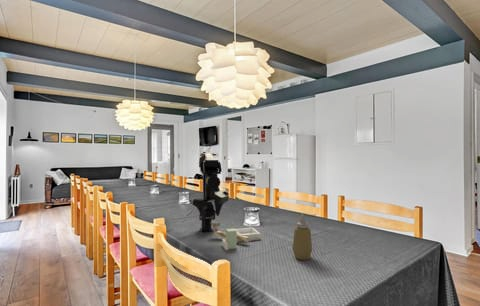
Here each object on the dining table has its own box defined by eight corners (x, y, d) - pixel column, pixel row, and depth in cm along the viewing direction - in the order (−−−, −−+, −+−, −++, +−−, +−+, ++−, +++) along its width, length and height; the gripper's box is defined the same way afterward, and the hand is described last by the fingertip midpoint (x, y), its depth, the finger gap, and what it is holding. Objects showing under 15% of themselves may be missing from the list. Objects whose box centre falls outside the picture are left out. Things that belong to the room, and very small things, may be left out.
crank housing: (218, 240, 135) (218, 234, 135) (236, 238, 138) (236, 232, 138) (225, 250, 121) (225, 243, 121) (246, 247, 125) (246, 241, 125)
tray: (233, 235, 144) (233, 229, 143) (252, 233, 147) (252, 227, 147) (239, 241, 133) (239, 235, 133) (260, 239, 137) (260, 233, 137)
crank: (249, 240, 130) (249, 227, 130) (246, 242, 127) (246, 228, 127) (213, 233, 141) (213, 220, 141) (209, 234, 139) (209, 222, 139)
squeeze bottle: (297, 262, 109) (298, 217, 109) (289, 254, 117) (289, 212, 117) (315, 260, 111) (316, 216, 111) (306, 253, 119) (306, 211, 119)
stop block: (225, 246, 127) (225, 229, 127) (233, 245, 128) (233, 228, 128) (227, 249, 123) (228, 231, 123) (236, 248, 124) (236, 230, 124)
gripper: (209, 189, 117) (209, 225, 118) (236, 184, 132) (236, 216, 133) (192, 186, 124) (191, 220, 125) (219, 182, 139) (219, 212, 140)
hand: (210, 217), depth 130 cm, fingers open, 9 cm apart
